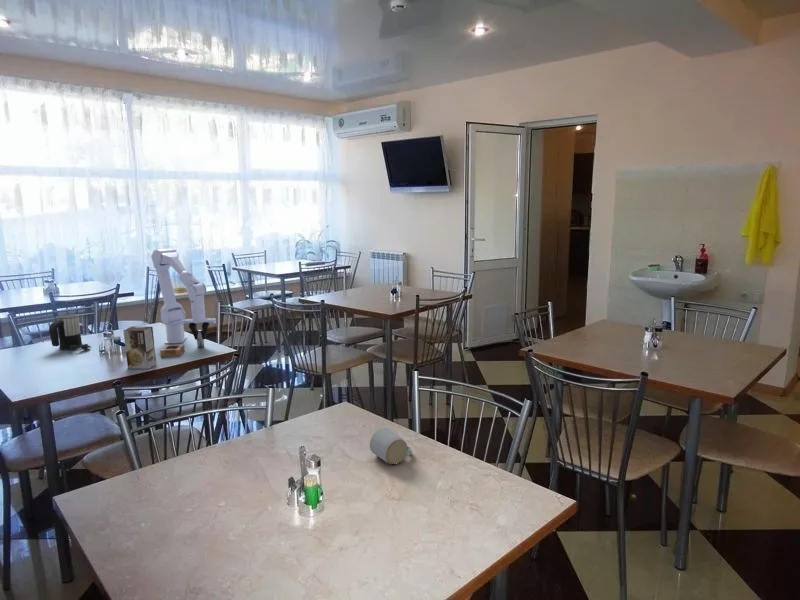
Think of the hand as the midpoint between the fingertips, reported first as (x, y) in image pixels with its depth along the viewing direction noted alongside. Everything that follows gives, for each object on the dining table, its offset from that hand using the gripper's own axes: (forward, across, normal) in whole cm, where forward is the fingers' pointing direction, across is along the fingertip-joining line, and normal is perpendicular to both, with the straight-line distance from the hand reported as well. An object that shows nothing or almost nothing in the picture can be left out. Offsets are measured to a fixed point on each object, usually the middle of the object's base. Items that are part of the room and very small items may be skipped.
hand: (200, 339), depth 243 cm
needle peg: (+4, 0, 0) cm, 4 cm away
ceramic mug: (+4, +72, -116) cm, 137 cm away
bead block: (+4, -10, -9) cm, 14 cm away
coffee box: (+4, -18, -25) cm, 31 cm away
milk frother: (+4, -56, +7) cm, 56 cm away
